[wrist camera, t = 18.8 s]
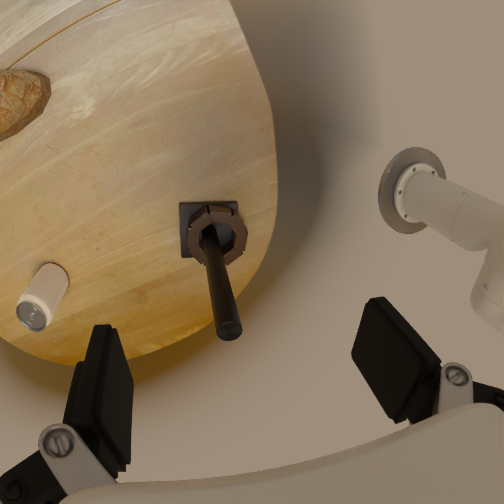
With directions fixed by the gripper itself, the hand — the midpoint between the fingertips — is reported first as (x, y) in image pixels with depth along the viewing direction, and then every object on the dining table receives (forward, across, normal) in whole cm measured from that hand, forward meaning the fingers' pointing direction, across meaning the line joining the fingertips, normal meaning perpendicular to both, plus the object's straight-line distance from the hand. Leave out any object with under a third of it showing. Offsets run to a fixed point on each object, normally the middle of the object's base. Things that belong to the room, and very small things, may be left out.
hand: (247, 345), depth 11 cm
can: (+39, +28, +18) cm, 51 cm away
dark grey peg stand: (+39, -1, +11) cm, 40 cm away
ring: (+37, -2, +11) cm, 39 cm away
